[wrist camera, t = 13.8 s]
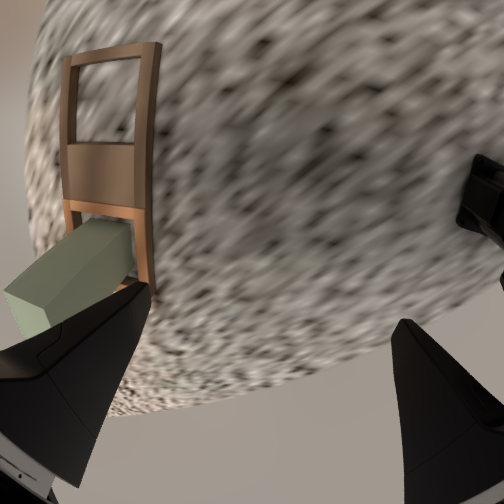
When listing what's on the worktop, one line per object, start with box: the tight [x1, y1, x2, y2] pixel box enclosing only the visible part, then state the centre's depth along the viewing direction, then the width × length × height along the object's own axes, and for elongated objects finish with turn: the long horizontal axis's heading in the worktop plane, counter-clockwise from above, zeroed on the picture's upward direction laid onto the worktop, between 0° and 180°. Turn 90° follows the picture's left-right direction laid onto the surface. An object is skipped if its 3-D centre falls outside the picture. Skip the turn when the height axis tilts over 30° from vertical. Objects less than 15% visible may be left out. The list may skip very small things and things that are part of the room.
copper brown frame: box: [60, 42, 162, 298], centre depth 21 cm, size 9×22×1 cm, turn 172°
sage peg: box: [4, 218, 134, 339], centre depth 20 cm, size 4×4×12 cm
